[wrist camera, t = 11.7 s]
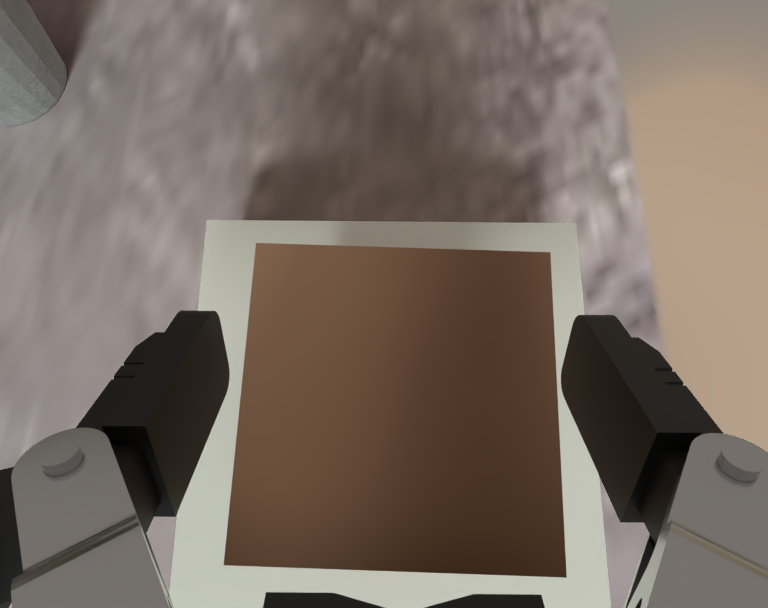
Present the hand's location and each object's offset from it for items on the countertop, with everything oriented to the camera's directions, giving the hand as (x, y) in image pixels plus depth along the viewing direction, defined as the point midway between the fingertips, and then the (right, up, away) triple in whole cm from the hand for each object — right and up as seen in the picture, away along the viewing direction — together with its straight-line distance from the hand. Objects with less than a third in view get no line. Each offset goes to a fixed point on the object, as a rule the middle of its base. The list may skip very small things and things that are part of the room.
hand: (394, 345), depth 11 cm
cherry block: (0, -3, +6) cm, 6 cm away
